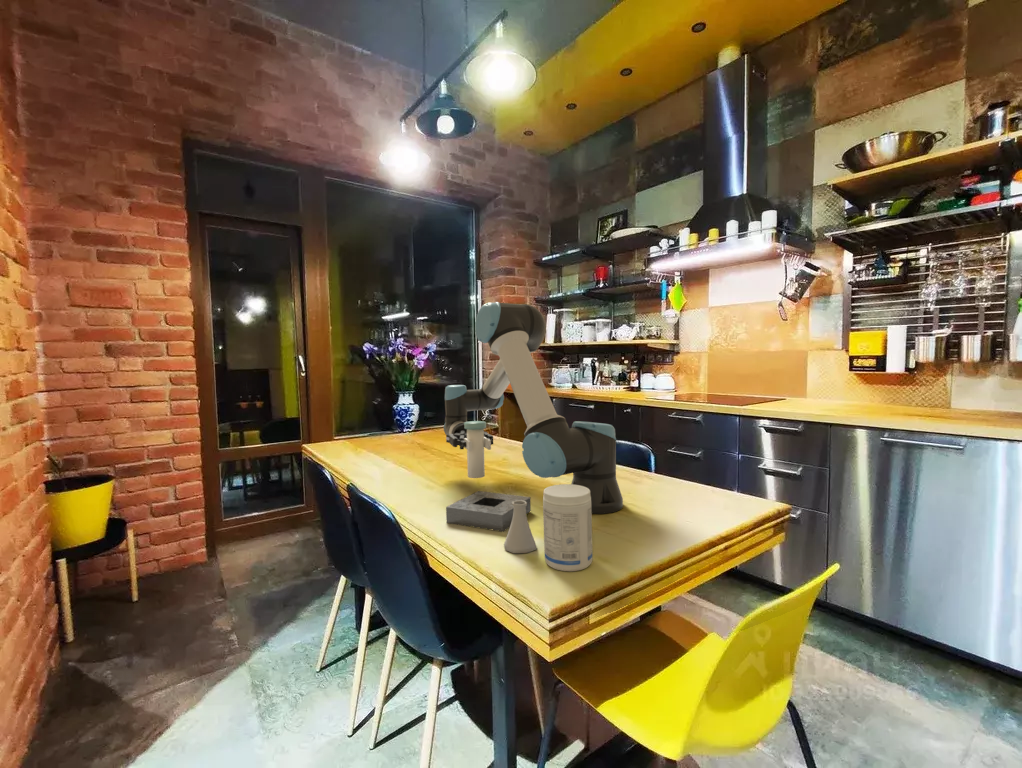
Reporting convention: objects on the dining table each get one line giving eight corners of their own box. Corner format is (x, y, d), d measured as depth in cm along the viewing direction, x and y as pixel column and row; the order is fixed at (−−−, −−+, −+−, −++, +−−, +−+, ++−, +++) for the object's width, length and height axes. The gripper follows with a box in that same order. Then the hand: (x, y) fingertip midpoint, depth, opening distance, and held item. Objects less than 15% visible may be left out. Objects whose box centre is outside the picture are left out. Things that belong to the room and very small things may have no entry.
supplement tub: (567, 549, 102) (566, 481, 101) (602, 563, 94) (601, 489, 94) (534, 562, 95) (532, 489, 95) (568, 578, 88) (567, 499, 87)
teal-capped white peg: (490, 474, 143) (489, 421, 142) (480, 479, 137) (478, 424, 136) (472, 472, 146) (471, 420, 145) (461, 477, 140) (460, 423, 139)
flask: (511, 557, 98) (510, 509, 98) (498, 545, 105) (497, 500, 104) (543, 550, 101) (542, 504, 101) (528, 539, 108) (527, 495, 107)
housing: (530, 512, 127) (530, 497, 127) (502, 531, 113) (502, 515, 113) (478, 504, 134) (478, 490, 134) (446, 522, 120) (446, 506, 120)
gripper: (488, 443, 161) (510, 456, 139) (435, 447, 155) (449, 461, 133) (488, 421, 161) (509, 430, 139) (435, 424, 155) (448, 434, 133)
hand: (480, 445), depth 136 cm, fingers closed on teal-capped white peg, 5 cm apart
